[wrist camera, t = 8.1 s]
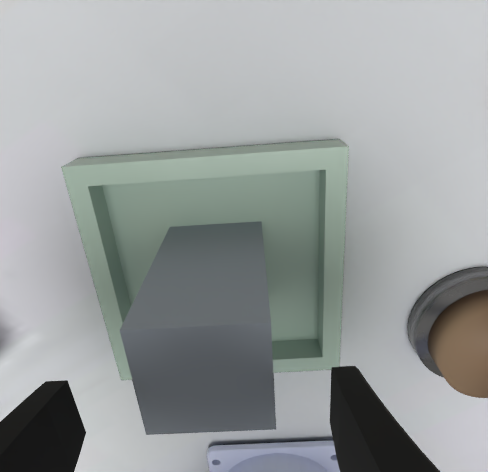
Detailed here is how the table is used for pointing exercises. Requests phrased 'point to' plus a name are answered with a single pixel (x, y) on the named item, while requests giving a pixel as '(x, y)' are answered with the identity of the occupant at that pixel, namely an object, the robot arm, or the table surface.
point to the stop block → (203, 333)
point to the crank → (463, 344)
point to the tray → (220, 212)
